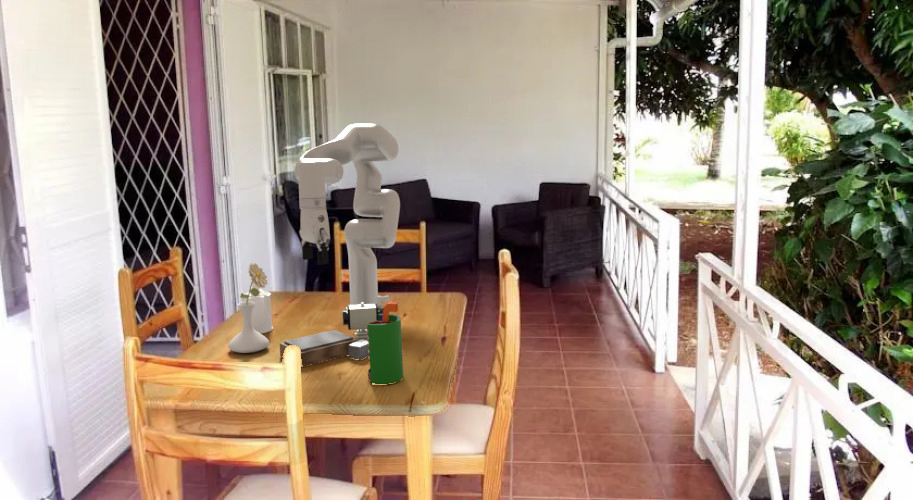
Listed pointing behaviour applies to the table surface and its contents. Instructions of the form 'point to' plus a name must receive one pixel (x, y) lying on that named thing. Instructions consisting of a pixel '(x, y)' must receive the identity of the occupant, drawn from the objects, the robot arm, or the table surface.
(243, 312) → the flower in vase
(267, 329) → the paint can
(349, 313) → the pneumatic valve
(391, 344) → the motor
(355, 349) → the grey rectangular block
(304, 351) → the stand
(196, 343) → the table surface
